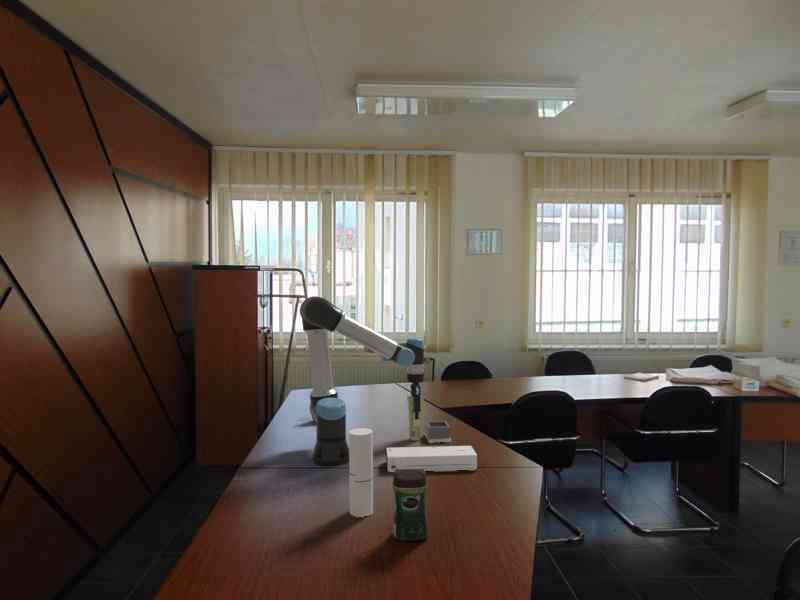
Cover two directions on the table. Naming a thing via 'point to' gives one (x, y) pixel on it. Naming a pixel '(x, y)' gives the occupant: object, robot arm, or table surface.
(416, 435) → the tube
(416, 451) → the laminator
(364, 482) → the cylindrical container
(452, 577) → the table surface
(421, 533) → the coffee jar
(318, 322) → the robot arm
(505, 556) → the table surface
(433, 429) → the grey and white box
